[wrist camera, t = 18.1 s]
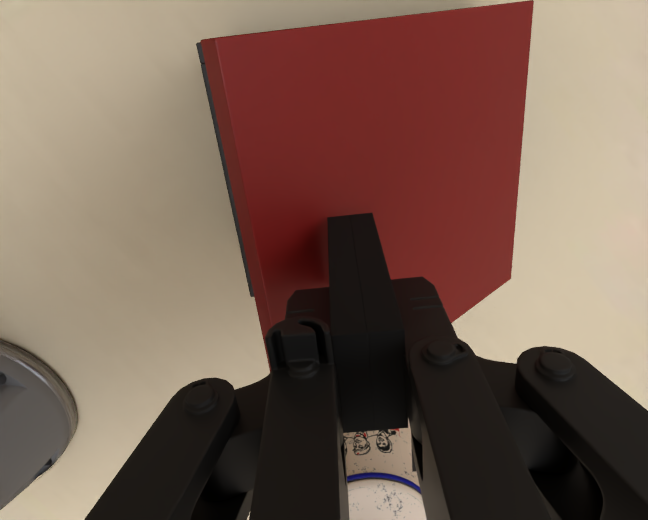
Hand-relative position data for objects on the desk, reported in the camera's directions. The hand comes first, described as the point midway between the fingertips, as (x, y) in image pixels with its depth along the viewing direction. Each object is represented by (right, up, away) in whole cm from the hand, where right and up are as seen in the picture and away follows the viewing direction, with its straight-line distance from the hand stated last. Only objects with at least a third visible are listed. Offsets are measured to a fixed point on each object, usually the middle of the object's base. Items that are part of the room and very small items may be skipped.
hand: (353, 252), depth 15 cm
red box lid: (+2, +2, +4) cm, 5 cm away
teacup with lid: (+1, -16, +26) cm, 31 cm away
